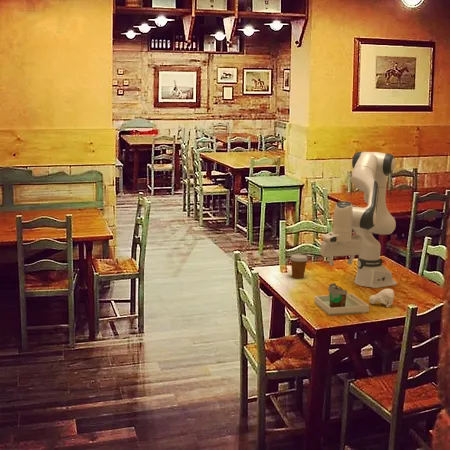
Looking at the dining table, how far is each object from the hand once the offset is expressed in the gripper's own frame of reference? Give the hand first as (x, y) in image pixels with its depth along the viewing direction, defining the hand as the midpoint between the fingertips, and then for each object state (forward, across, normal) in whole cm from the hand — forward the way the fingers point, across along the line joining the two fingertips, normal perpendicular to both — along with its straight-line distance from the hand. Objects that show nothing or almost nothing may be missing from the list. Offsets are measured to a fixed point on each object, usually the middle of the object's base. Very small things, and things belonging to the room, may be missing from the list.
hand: (340, 264), depth 329 cm
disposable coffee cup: (+22, +1, -51) cm, 56 cm away
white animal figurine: (+22, -22, +1) cm, 31 cm away
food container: (+21, +2, +1) cm, 21 cm away
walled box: (+22, -1, 0) cm, 22 cm away
